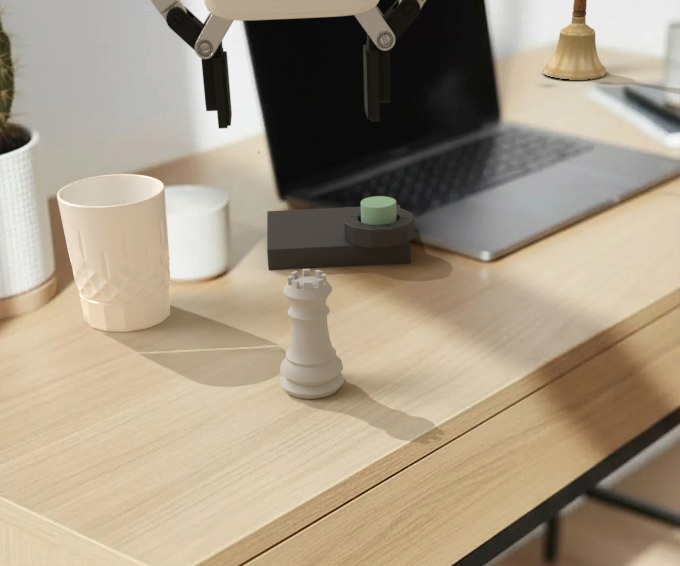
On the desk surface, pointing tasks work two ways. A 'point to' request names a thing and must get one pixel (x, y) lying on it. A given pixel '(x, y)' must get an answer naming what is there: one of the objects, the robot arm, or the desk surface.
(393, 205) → the button
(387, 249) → the scale
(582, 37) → the hand bell
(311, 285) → the rook chess piece
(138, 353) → the desk surface
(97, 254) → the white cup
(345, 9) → the robot arm
